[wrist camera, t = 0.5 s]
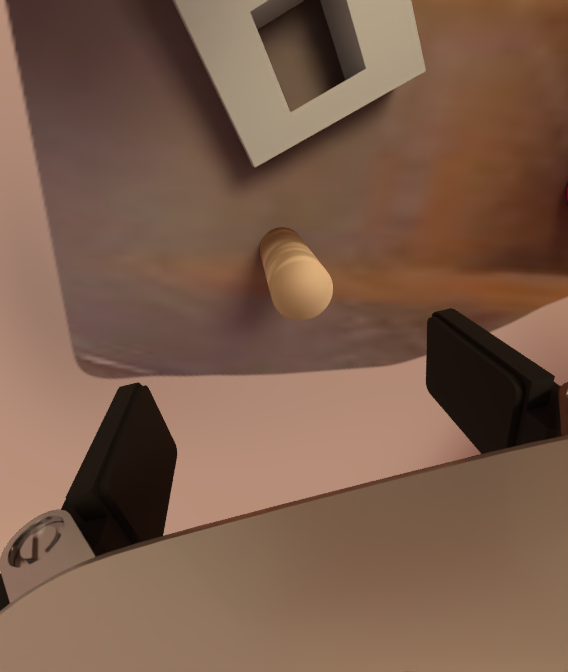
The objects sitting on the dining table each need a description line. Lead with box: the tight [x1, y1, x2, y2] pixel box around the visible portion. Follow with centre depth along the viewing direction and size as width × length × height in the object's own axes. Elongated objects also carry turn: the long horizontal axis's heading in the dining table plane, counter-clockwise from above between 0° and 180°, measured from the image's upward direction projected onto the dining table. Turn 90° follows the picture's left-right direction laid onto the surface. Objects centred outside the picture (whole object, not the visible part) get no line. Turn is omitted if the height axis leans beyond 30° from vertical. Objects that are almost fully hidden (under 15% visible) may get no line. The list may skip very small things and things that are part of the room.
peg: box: [260, 227, 333, 320], centre depth 29 cm, size 4×4×12 cm
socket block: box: [172, 0, 426, 167], centre depth 23 cm, size 14×16×5 cm
